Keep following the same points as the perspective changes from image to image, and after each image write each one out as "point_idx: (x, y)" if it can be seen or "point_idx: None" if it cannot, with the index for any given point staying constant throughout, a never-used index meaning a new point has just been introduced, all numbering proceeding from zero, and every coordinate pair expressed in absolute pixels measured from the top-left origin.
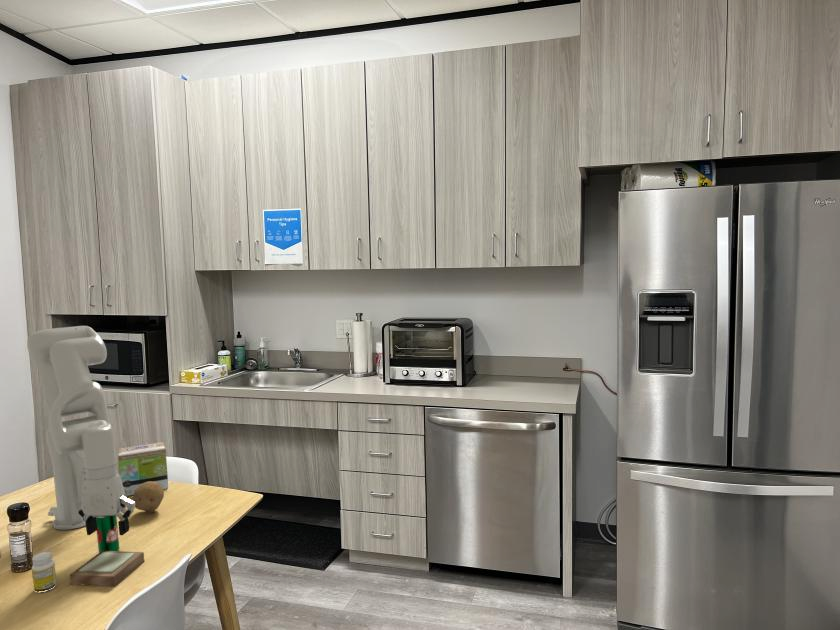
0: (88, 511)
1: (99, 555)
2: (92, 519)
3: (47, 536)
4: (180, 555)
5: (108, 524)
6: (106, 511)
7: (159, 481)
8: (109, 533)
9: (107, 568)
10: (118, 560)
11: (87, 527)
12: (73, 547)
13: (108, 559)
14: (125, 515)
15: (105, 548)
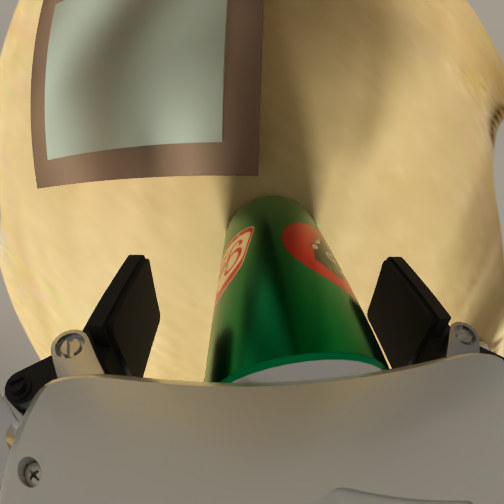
0: (480, 395)
1: (219, 102)
2: (410, 355)
3: (495, 312)
4: (5, 233)
5: (228, 315)
6: (144, 442)
7: None
8: (233, 267)
9: (85, 7)
10: (74, 78)
11: (418, 287)
12: (435, 268)
13: (129, 70)
14: (49, 373)
15: (260, 209)
